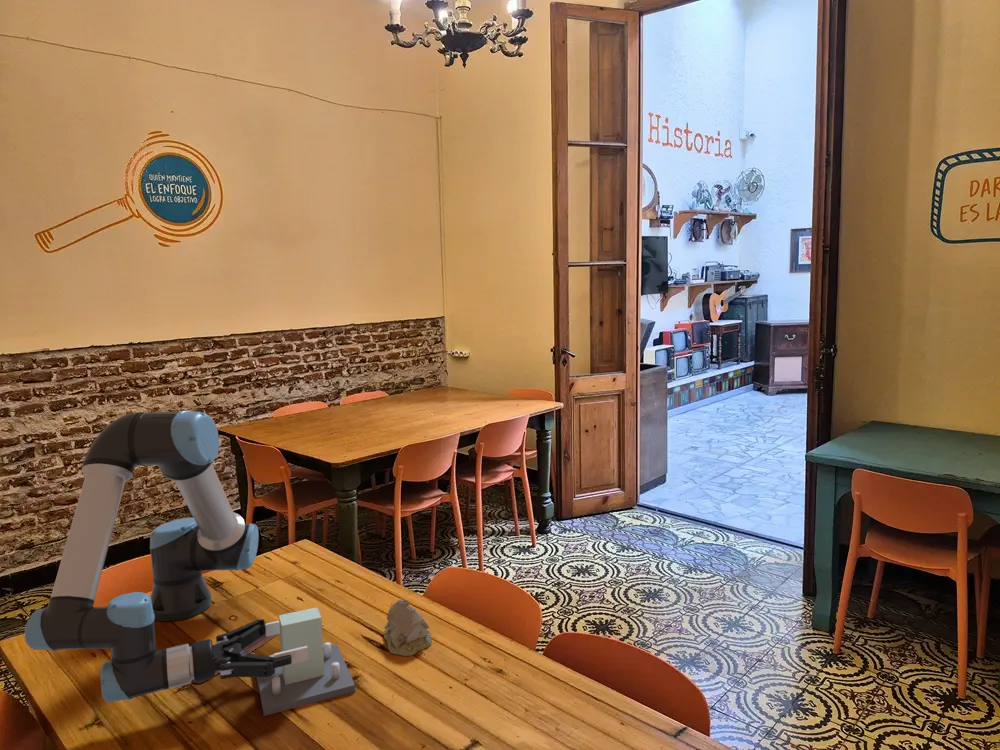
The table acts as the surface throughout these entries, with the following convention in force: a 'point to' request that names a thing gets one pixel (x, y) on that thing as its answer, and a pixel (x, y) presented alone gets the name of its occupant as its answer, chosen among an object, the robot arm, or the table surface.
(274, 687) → the peg plinth
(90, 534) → the robot arm
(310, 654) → the mint board
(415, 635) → the ceramic model
